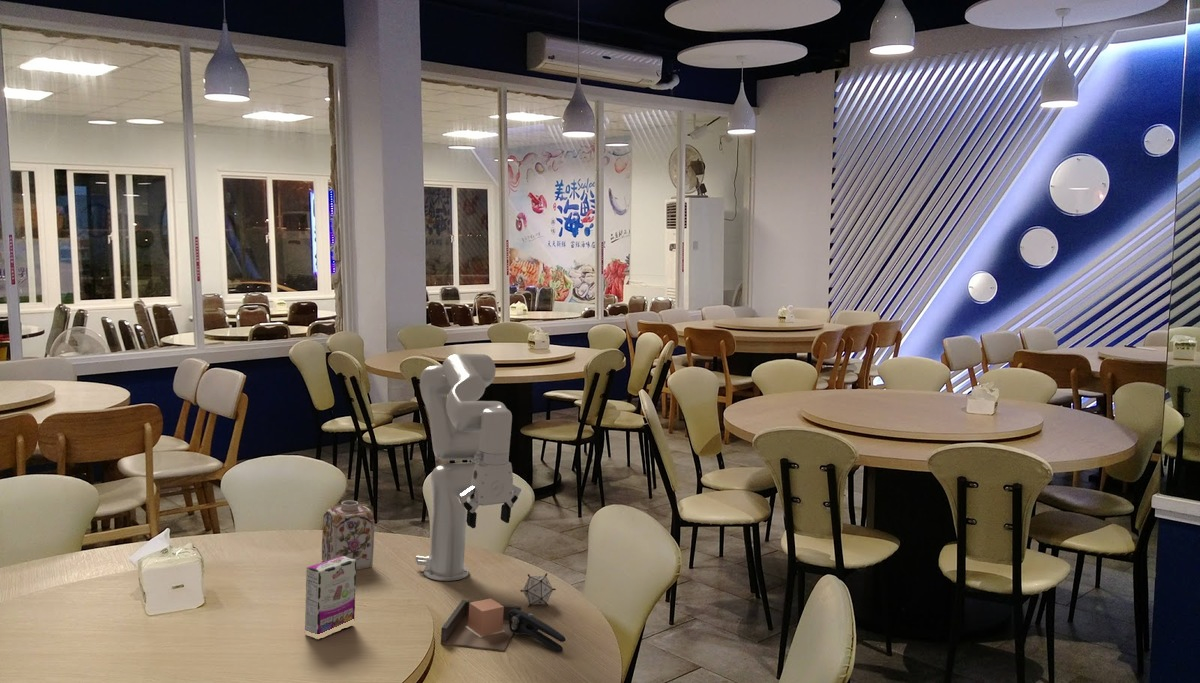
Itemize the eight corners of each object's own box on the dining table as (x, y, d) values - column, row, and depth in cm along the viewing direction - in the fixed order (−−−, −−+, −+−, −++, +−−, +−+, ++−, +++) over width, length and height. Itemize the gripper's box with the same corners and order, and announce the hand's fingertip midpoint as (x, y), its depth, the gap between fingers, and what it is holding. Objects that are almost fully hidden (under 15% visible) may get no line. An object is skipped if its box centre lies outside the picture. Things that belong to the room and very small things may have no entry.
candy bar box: (340, 620, 215) (343, 554, 214) (354, 626, 213) (358, 559, 211) (302, 635, 206) (305, 566, 205) (317, 641, 203) (320, 571, 202)
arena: (440, 643, 206) (441, 627, 206) (461, 614, 224) (462, 599, 224) (504, 651, 205) (505, 635, 204) (520, 621, 223) (521, 606, 222)
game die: (540, 621, 233) (548, 600, 227) (512, 605, 234) (519, 584, 228) (555, 595, 240) (563, 574, 233) (527, 580, 241) (535, 559, 235)
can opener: (499, 630, 215) (501, 608, 215) (520, 623, 220) (523, 601, 220) (551, 657, 203) (554, 633, 203) (572, 649, 209) (575, 626, 208)
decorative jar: (360, 555, 263) (363, 495, 261) (373, 567, 253) (376, 505, 251) (319, 560, 256) (322, 499, 255) (331, 573, 246) (334, 509, 245)
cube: (468, 626, 216) (469, 602, 215) (489, 621, 220) (490, 598, 219) (480, 635, 211) (482, 611, 211) (502, 630, 215) (503, 606, 214)
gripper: (470, 464, 213) (464, 533, 215) (531, 458, 223) (525, 524, 225) (455, 456, 218) (450, 523, 221) (515, 451, 229) (509, 515, 231)
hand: (488, 523), depth 223 cm, fingers open, 9 cm apart
